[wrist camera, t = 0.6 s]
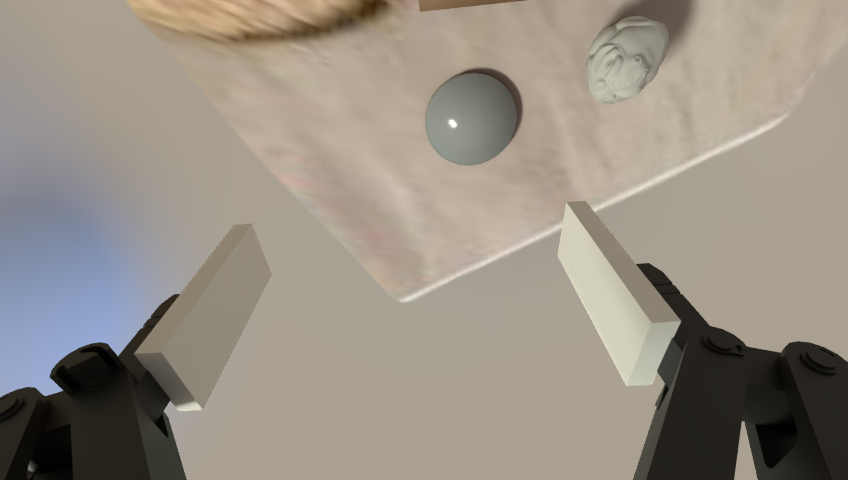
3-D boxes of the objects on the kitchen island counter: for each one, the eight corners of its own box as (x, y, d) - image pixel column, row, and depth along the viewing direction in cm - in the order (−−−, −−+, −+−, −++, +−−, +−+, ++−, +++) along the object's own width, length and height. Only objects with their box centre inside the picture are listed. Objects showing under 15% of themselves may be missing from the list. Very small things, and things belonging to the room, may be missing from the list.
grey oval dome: (421, 77, 35) (421, 79, 34) (517, 67, 34) (519, 68, 34) (429, 166, 40) (430, 169, 39) (513, 157, 40) (514, 160, 39)
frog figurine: (553, 59, 34) (581, 74, 28) (622, -8, 31) (668, -5, 26) (589, 105, 37) (621, 128, 31) (656, 47, 34) (705, 61, 28)
